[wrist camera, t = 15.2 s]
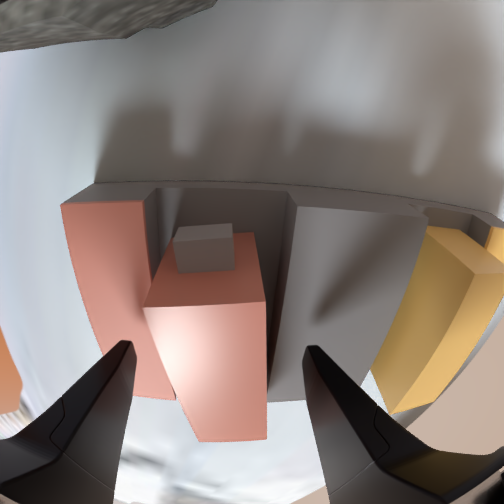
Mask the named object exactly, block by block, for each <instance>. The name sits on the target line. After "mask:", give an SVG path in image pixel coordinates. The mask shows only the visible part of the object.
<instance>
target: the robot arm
mask: <svg viewBox="0 0 504 504" xmlns="http://www.w3.org/2000/svg"><path fill="white" fill-rule="evenodd" d="M136 365H137V355H136V352H135V348H134V345H133V342H132V341H130V340H120V341H119V342H118V343H117V344H116V345H115V346H114V347H112V348H111V349H110V350H109V351H108V352H107V353H106V354H105V355H104V356H103V357H102V358H101V359H100V360H99V361H98V362H97V363H95V364H94V365H93V366H92V367H91V368H90V369H89V370H88V371H87V372H86V373H85V374H84V375H83V376H82V377H81V378H80V379H79V380H78V381H77V382H76V383H75V384H73V385H72V386H71V387H70V388H69V389H68V390H67V391H66V392H65V393H64V394H63V395H62V397H60V398H59V399H58V400H57V401H56V402H55V403H54V404H53V405H52V406H51V407H49V408H48V409H47V410H46V411H45V412H44V413H43V414H41V415H40V416H39V417H38V418H37V419H35V420H34V421H33V422H31V423H30V424H29V425H28V426H26V427H25V428H24V429H22V430H21V431H20V432H19V433H17V434H16V435H14V436H12V437H10V438H7V439H2V440H0V504H113V499H114V490H115V484H116V478H117V471H118V465H119V460H120V454H121V449H122V444H123V439H124V434H125V429H126V424H127V419H128V415H129V410H130V406H131V402H132V397H133V389H134V381H135V373H136ZM302 370H303V378H304V387H305V396H306V402H307V407H308V411H309V415H310V419H311V423H312V427H313V432H314V436H315V440H316V444H317V448H318V452H319V457H320V461H321V465H322V469H323V474H324V478H325V482H326V487H327V491H328V495H329V500H330V504H504V470H503V471H502V472H500V471H499V469H501V468H502V467H503V466H504V446H502V447H501V448H499V449H498V450H496V451H495V452H494V453H492V454H488V455H471V454H461V453H453V452H446V451H439V450H436V449H433V448H431V447H429V446H427V445H426V444H424V443H423V442H422V441H421V440H419V439H418V438H417V437H415V436H414V435H413V434H411V433H410V432H409V431H407V430H406V429H405V428H403V427H402V426H401V425H400V424H398V423H397V422H396V421H395V420H394V419H393V418H391V417H390V416H389V415H388V414H387V413H386V412H385V411H384V410H383V409H382V408H381V407H380V406H377V403H376V402H375V401H374V400H373V399H372V398H371V397H370V396H369V395H368V394H367V393H366V392H365V391H364V390H362V389H361V388H360V387H359V386H358V385H357V384H356V383H355V382H354V381H353V380H352V379H351V378H350V377H349V376H348V375H347V374H346V373H345V372H344V371H343V370H342V369H341V368H340V367H339V366H338V365H337V364H336V362H335V361H334V360H333V359H332V358H331V357H330V356H329V355H328V354H327V353H326V352H325V351H324V350H323V349H322V348H321V347H320V346H318V345H308V346H306V348H305V352H304V356H303V359H302Z"/></svg>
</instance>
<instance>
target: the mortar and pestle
mask: <svg viewBox="0 0 504 504" xmlns="http://www.w3.org/2000/svg"><path fill="white" fill-rule="evenodd" d="M216 2H217V0H0V52H7V51H15V50H23V49H35V48H39V47H45V46H50V45H56V44H63V43H70V42H78V41H88V40H101V39H124V38H128V37H130V36H131V35H133V34H135V33H137V32H138V31H140V30H142V29H144V28H164V27H166V26H168V25H170V24H172V23H174V22H176V21H179V20H181V19H183V18H185V17H188V16H190V15H192V14H195V13H197V12H200V11H202V10H205V9H207V8H210V7H212V6H213V5H214V4H215V3H216Z"/></svg>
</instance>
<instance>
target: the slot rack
mask: <svg viewBox="0 0 504 504" xmlns="http://www.w3.org/2000/svg"><path fill="white" fill-rule="evenodd" d="M60 206H61V213H62V218H63V224H64V229H65V234H66V239H67V244H68V248H69V252H70V257H71V261H72V265H73V268H74V272H75V276H76V280H77V283H78V286H79V290H80V293H81V296H82V300H83V303H84V306H85V309H86V312H87V315H88V318H89V321H90V323H91V326H92V329H93V332H94V334H95V337H96V339H97V342H98V344H99V347H100V349H101V352H102V354H103V356H104V355H105V354H106V353H107V352H108V351H109V350H110V349H111V348H112V347H114V346H115V345H116V344H117V343H118V342H119V341H120V340H130V341H132V342H133V345H134V348H135V352H136V355H137V365H136V373H135V381H134V389H133V396H139V397H147V398H156V399H165V400H176V393H175V391H174V389H173V387H172V384H171V382H170V380H169V377H168V375H167V372H166V370H165V368H164V365H163V363H162V360H161V358H160V355H159V353H158V350H157V347H156V345H155V342H154V339H153V337H152V334H151V331H150V328H149V325H148V323H147V320H146V317H145V314H144V311H143V305H144V302H145V300H146V297H147V294H148V292H149V289H150V287H151V284H152V282H153V279H154V277H155V274H156V272H157V270H158V267H159V265H160V262H161V260H162V258H163V255H164V253H165V251H166V248H167V246H168V244H169V241H170V239H171V238H174V237H175V235H176V232H177V230H178V228H179V227H186V226H199V225H212V224H226V223H232V228H233V233H247V232H254V237H255V242H256V248H257V254H258V260H259V265H260V271H261V277H262V283H263V289H264V294H265V300H266V363H267V402H283V401H297V400H306V396H305V387H304V378H303V370H302V359H303V356H304V352H305V348H306V346H308V345H318V346H320V347H321V348H322V349H323V350H324V351H325V352H326V353H327V354H328V355H329V356H330V357H331V358H332V359H333V360H334V361H335V362H336V364H337V365H338V366H339V367H340V368H341V369H342V370H343V371H344V372H345V373H346V374H347V375H348V376H349V377H350V378H351V379H352V380H353V381H354V382H355V383H356V384H357V385H358V386H359V387H360V386H361V384H362V382H363V381H364V379H365V377H366V375H367V373H368V371H369V370H370V368H371V366H372V364H373V362H374V360H375V358H376V356H377V354H378V352H379V350H380V348H381V346H382V344H383V342H384V340H385V338H386V336H387V334H388V331H389V329H390V327H391V325H392V323H393V320H394V318H395V316H396V313H397V311H398V309H399V306H400V304H401V301H402V299H403V296H404V294H405V291H406V289H407V286H408V284H409V281H410V278H411V275H412V273H413V270H414V267H415V264H416V261H417V258H418V255H419V252H420V249H421V246H422V243H423V239H424V236H425V233H426V229H427V226H435V227H443V228H451V229H459V230H461V231H462V232H463V233H465V234H466V235H468V236H469V237H470V238H472V239H473V240H474V241H476V242H477V243H478V244H480V245H481V246H482V247H483V248H485V249H486V250H487V251H489V252H490V253H491V254H492V255H494V256H495V257H496V258H497V259H498V260H500V261H501V262H502V263H503V264H504V222H503V221H502V220H500V219H499V218H497V217H495V216H494V215H492V214H491V213H487V212H482V211H477V210H473V209H468V208H463V207H458V206H453V205H448V204H442V203H436V202H431V201H425V200H419V199H413V198H406V197H399V196H392V195H385V194H378V193H370V192H362V191H353V190H344V189H334V188H324V187H313V186H300V185H287V184H271V183H252V182H225V181H137V182H112V183H94V184H92V185H90V186H88V187H87V188H85V189H84V190H82V191H80V192H79V193H77V194H76V195H74V196H73V197H71V198H70V199H68V200H67V201H65V202H64V203H62V204H61V205H60Z"/></svg>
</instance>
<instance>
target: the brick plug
mask: <svg viewBox="0 0 504 504" xmlns="http://www.w3.org/2000/svg"><path fill="white" fill-rule="evenodd" d="M143 311H144V314H145V317H146V320H147V323H148V325H149V328H150V331H151V334H152V337H153V339H154V342H155V345H156V347H157V350H158V353H159V355H160V358H161V360H162V363H163V365H164V368H165V370H166V372H167V375H168V377H169V380H170V382H171V384H172V387H173V389H174V391H175V393H176V396H177V398H178V400H179V402H180V404H181V407H182V409H183V411H184V413H185V415H186V417H187V419H188V421H189V423H190V425H191V427H192V429H193V431H194V433H195V435H196V437H197V439H198V441H199V442H235V441H253V440H266V439H267V363H266V300H265V294H264V289H263V283H262V277H261V271H260V265H259V260H258V254H257V248H256V242H255V237H254V232H247V233H233V228H232V223H226V224H212V225H199V226H186V227H179V228H178V230H177V232H176V235H175V237H174V238H171V239H170V241H169V244H168V246H167V248H166V251H165V253H164V255H163V258H162V260H161V262H160V265H159V267H158V270H157V272H156V274H155V277H154V279H153V282H152V284H151V287H150V289H149V292H148V294H147V297H146V300H145V302H144V305H143Z"/></svg>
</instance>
